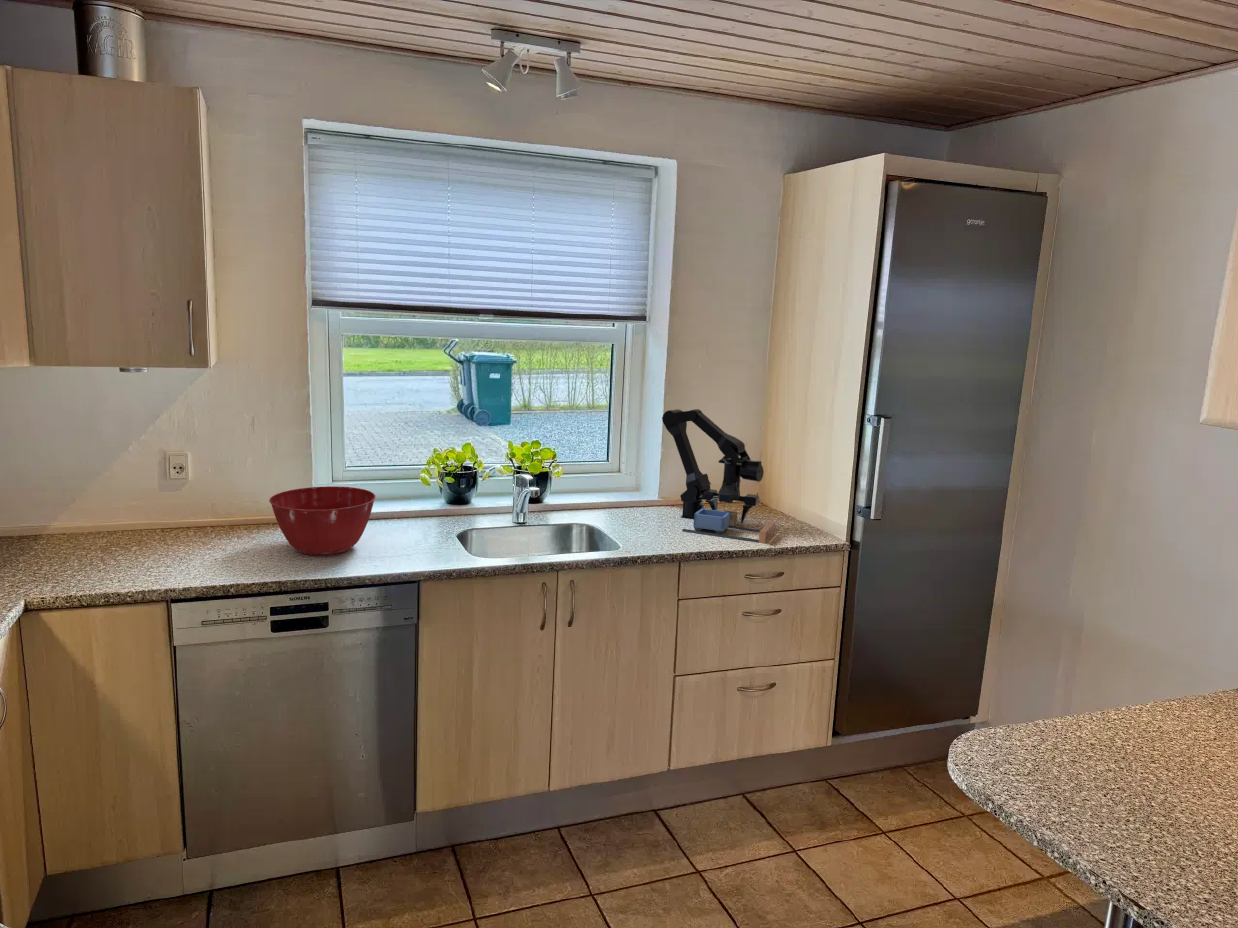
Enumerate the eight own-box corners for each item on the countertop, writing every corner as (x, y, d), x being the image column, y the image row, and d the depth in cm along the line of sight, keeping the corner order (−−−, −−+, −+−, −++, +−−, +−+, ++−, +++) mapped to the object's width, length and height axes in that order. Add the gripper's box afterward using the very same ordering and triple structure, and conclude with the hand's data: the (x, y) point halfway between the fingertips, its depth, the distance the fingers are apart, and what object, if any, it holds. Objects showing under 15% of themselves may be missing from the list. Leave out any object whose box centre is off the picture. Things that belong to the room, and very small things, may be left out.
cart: (693, 530, 286) (694, 513, 285) (700, 525, 295) (701, 508, 294) (722, 535, 283) (723, 517, 282) (729, 529, 291) (730, 512, 290)
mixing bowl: (287, 569, 228) (286, 512, 226) (258, 542, 251) (257, 490, 248) (390, 555, 245) (390, 502, 242) (355, 531, 267) (355, 482, 265)
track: (682, 532, 285) (682, 520, 285) (694, 523, 298) (695, 511, 297) (764, 544, 276) (765, 532, 275) (773, 534, 288) (774, 522, 288)
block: (720, 525, 297) (721, 512, 296) (723, 522, 301) (724, 510, 300) (733, 527, 295) (734, 514, 294) (736, 524, 299) (737, 512, 298)
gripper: (698, 478, 291) (695, 523, 294) (753, 484, 284) (750, 530, 287) (707, 472, 301) (704, 516, 304) (761, 478, 294) (757, 523, 297)
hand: (728, 521), depth 298 cm, fingers open, 9 cm apart
